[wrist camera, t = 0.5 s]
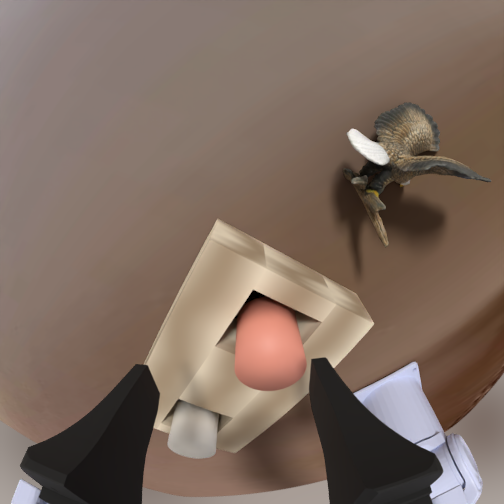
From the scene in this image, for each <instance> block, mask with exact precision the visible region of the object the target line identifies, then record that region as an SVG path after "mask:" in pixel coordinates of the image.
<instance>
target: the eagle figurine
mask: <svg viewBox="0 0 504 504" xmlns="http://www.w3.org/2000/svg"><path fill="white" fill-rule="evenodd" d="M374 127H375V128H376V129H377V131H376V134H377V135H378V136H379V137H378V138H377V142H378V143H377V142H373V141H371V140H370V139H368V138H366V137H365V136H364V135H362V134H361V133H360V132H359V131H357V130H356V129H351V130H350V131H349V132H347V136H348V138H349V141H350V142H351V145H352V146H353V148H354V149H355V150H356V151H358V152H359V153H360V154H361V155H363V156H364V157H365V158H366V159H368V160H369V161H368V163H367V164H366V165H365V166H363V168H362V170H360V171H359V173H360V175H358V174H357V173H353V172H352V171H351V170H349V169H346V168H343V173H344V176H345V178H346V179H348V180H349V181H351V183H352V184H353V186H354V187H355V189H356V191H357V193H358V195H359V197H360V198H361V200H362V202H363V204H364V206H365V209H366V211H367V213H368V215H369V217H370V219H371V221H372V223H373V225H374V227H375V229H376V231H377V233H378V236H379V238H380V239H381V241H382V243H383V245H384V246H385V247H387V246H388V239H387V234H386V231H385V228H384V226H383V223H382V220H381V218H380V216H379V214H378V211H380V210H385V209H386V207H385V205H384V204H383V203H382V202H381V201H380V199H379V194H381V193H382V192H383V190H384V188H385V186H386V185H387V184H389V183H390V182H393V181H395V182H396V183H399V184H400V187H402V186H403V185H407V184H409V183H410V179H412V178H413V177H415V176H418V175H423V174H438V175H451V176H453V175H454V176H457V177H461V178H466V179H476V180H481V181H485V182H491V180H490V179H488V178H484V177H482V176H480V175H478V174H477V173H475V172H474V171H473V170H471V169H470V168H469V167H467V166H465V165H464V164H462V163H460V162H458V161H455V160H452V159H449V158H445V157H440V156H416V155H417V154H419V153H421V152H425V151H438V150H439V146H438V144H439V143H440V140H439V138H438V136H439V134H440V132H439V130H438V129H437V127H438V126H437V124H436V122H434V121H433V118H432V116H430V115H428V114H425V110H424V109H420V107H419V106H418V105H416V104H412V103H404V105H403V104H402V105H399V106H398V108H394V109H391V110H390V112H388V111H386V112H385V113H381V115H380V116H379V117H378V119H377V120H376V121H375V126H374ZM379 171H381V172H380V173H379V174H376V175H375V177H374V178H373V179H372V181H371V182H370V183H369V184H367V182H368V177H369V176H371V175H373V174H375V173H376V172H379Z"/></svg>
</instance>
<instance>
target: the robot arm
mask: <svg viewBox="0 0 504 504" xmlns="http://www.w3.org/2000/svg"><path fill="white" fill-rule="evenodd" d="M309 393H310V400H311V407H312V411H313V415H314V419H315V423H316V426H317V430H318V434H319V437H320V441H321V445H322V448H323V453H324V458H325V465H326V473H327V481H328V489H329V500H330V504H475V503H476V502H477V500H478V499H479V497H480V495H481V493H482V486H483V482H482V479H481V477H480V475H479V471H478V467H477V465H476V462H475V460H474V458H473V456H472V454H471V452H470V450H469V448H468V446H467V444H466V443H465V441H464V440H463V438H462V437H461V436H460V435H458V434H453V433H452V434H450V435H449V436H446V435H445V433H444V431H443V429H442V427H441V425H440V423H439V421H438V419H437V417H436V415H435V413H434V411H433V409H432V408H431V406H430V404H429V402H428V400H427V398H426V396H425V394H424V393H423V391H422V386H421V380H420V374H419V369H418V364H417V363H416V362H412V363H410V364H408V365H407V366H405V367H403V368H401V369H400V370H398V371H396V372H394V373H392V374H391V375H389V376H387V377H385V378H383V379H381V380H379V381H377V382H375V383H373V384H371V385H369V386H367V387H365V388H363V389H361V390H359V391H357V392H355V393H352V392H351V390H350V389H349V388H348V387H347V386H346V384H345V383H344V382H343V381H342V379H341V378H340V377H339V375H338V374H337V373H336V371H335V370H334V368H333V367H332V365H331V364H330V362H329V361H328V359H327V358H326V357H323V358H315V359H311V369H310V381H309ZM159 399H160V392H159V390H158V388H157V385H156V383H155V381H154V378H153V376H152V374H151V372H150V369H149V367H148V365H139V364H136V365H135V366H134V367H133V368H132V369H131V370H130V371H129V372H128V374H127V375H126V376H125V377H124V378H123V379H122V380H121V381H120V382H119V383H118V385H117V386H116V387H115V388H114V389H113V390H112V391H111V392H110V393H109V394H108V395H107V396H106V397H105V398H104V399H103V400H102V401H101V402H100V403H99V404H98V405H97V406H96V407H95V408H94V409H93V410H92V411H90V412H89V413H88V414H87V415H86V416H84V417H83V418H82V419H81V420H79V421H78V422H77V423H75V424H74V425H72V426H71V427H69V428H67V429H66V430H64V431H63V432H61V433H59V434H58V435H56V436H54V437H52V438H50V439H48V440H46V441H43V442H41V443H38V444H36V445H33V446H31V447H28V449H27V451H26V454H25V456H24V458H23V460H22V463H21V464H20V467H21V469H22V470H23V471H24V472H25V473H26V474H28V475H29V476H30V477H31V478H33V479H34V480H35V481H36V482H38V483H39V484H40V485H42V486H43V487H42V490H40V489H38V488H37V487H35V486H33V485H31V484H29V483H28V482H26V481H24V480H22V479H20V481H19V483H18V486H17V489H16V491H15V494H14V496H13V499H12V502H11V504H142V484H143V472H144V464H145V457H146V452H147V448H148V445H149V441H150V437H151V434H152V430H153V427H154V423H155V420H156V416H157V412H158V406H159ZM463 488H465V489H464V490H463Z"/></svg>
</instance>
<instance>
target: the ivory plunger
mask: <svg viewBox="0 0 504 504" xmlns="http://www.w3.org/2000/svg"><path fill="white" fill-rule="evenodd" d="M218 417H219V413H216V412H213V411H210V410H208V409H205V408H202V407H199V406H196V405H194V404H191V403H188V402H186V401H183V400H180V399H179V400H178V401H177V403H176V406H175V411H174V415H173V420H172V425H171V430H170V434H169V439H168V447H169V448H170V449H171V450H172V451H174V452H175V453H177V454H179V455H182V456H185V457H190V458H208V457H211V456H213V455H214V454H215V453H216V442H217V429H218Z"/></svg>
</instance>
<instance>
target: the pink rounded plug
mask: <svg viewBox="0 0 504 504" xmlns="http://www.w3.org/2000/svg"><path fill="white" fill-rule="evenodd" d="M306 367H307V362H306V357H305V353H304V349H303V344H302V340H301V336H300V332H299V328H298V323H297V319H296V315H295V312H294V310H293V308H291V307H288V306H286V305H284V304H282V303H280V302H278V301H276V300H274V299H272V298H270V297H260V298H257V299H254V300H252V301H250V302H248V303H247V304H245V305H244V306H243V307H242V309H241V310H240V312H239V314H238V316H237V328H236V347H235V367H234V370H235V374H236V376H237V378H238V379H239V381H240V382H242V383H243V384H244V385H246V386H248V387H250V388H252V389H255V390H260V391H275V390H280V389H284V388H287V387H289V386H291V385H293V384H294V383H296V382H297V381H298V380H299V379H300V378H301V377H302V376H303V375H304V373H305V371H306Z"/></svg>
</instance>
